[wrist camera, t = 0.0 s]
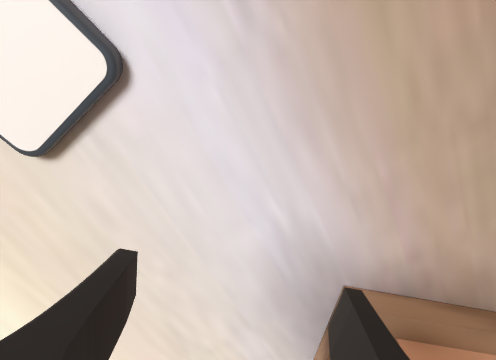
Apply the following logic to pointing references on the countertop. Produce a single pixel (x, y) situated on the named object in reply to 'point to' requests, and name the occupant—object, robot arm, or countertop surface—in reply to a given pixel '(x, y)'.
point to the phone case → (49, 71)
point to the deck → (429, 323)
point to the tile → (439, 352)
